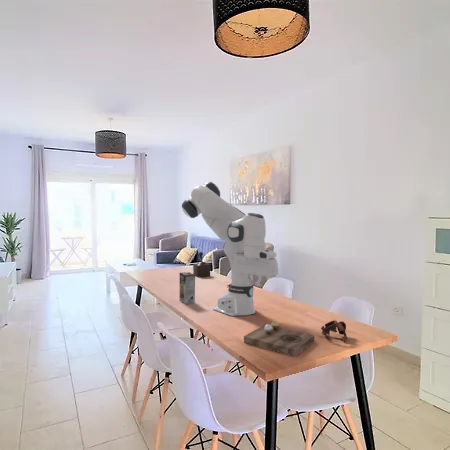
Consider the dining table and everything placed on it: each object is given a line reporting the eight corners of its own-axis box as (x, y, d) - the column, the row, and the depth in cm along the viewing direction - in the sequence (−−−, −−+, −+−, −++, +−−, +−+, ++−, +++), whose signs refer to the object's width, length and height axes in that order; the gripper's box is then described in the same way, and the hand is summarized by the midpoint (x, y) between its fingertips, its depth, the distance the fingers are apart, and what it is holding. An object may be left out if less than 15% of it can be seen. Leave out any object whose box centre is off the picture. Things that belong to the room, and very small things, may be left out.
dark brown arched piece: (343, 346, 133) (332, 327, 134) (324, 349, 140) (314, 331, 141) (356, 331, 141) (346, 313, 142) (338, 335, 148) (328, 318, 149)
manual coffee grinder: (211, 276, 268) (211, 253, 267) (199, 277, 262) (199, 254, 261) (201, 273, 281) (201, 251, 280) (189, 274, 275) (189, 252, 274)
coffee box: (178, 300, 196) (179, 272, 195) (189, 299, 198) (189, 271, 198) (184, 304, 187) (184, 275, 187) (195, 303, 190) (195, 274, 190)
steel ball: (262, 333, 137) (262, 324, 137) (266, 330, 140) (266, 322, 140) (270, 335, 135) (270, 326, 135) (274, 332, 138) (274, 324, 138)
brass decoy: (269, 329, 142) (269, 320, 142) (273, 326, 145) (273, 318, 145) (276, 330, 140) (277, 322, 140) (280, 328, 143) (280, 320, 143)
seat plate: (243, 342, 134) (243, 336, 134) (265, 329, 149) (265, 324, 149) (295, 356, 121) (295, 349, 121) (314, 341, 136) (314, 335, 136)
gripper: (229, 251, 144) (229, 283, 145) (272, 255, 132) (272, 290, 133) (237, 249, 149) (237, 280, 150) (279, 253, 137) (279, 287, 138)
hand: (254, 285), depth 141 cm, fingers open, 2 cm apart
